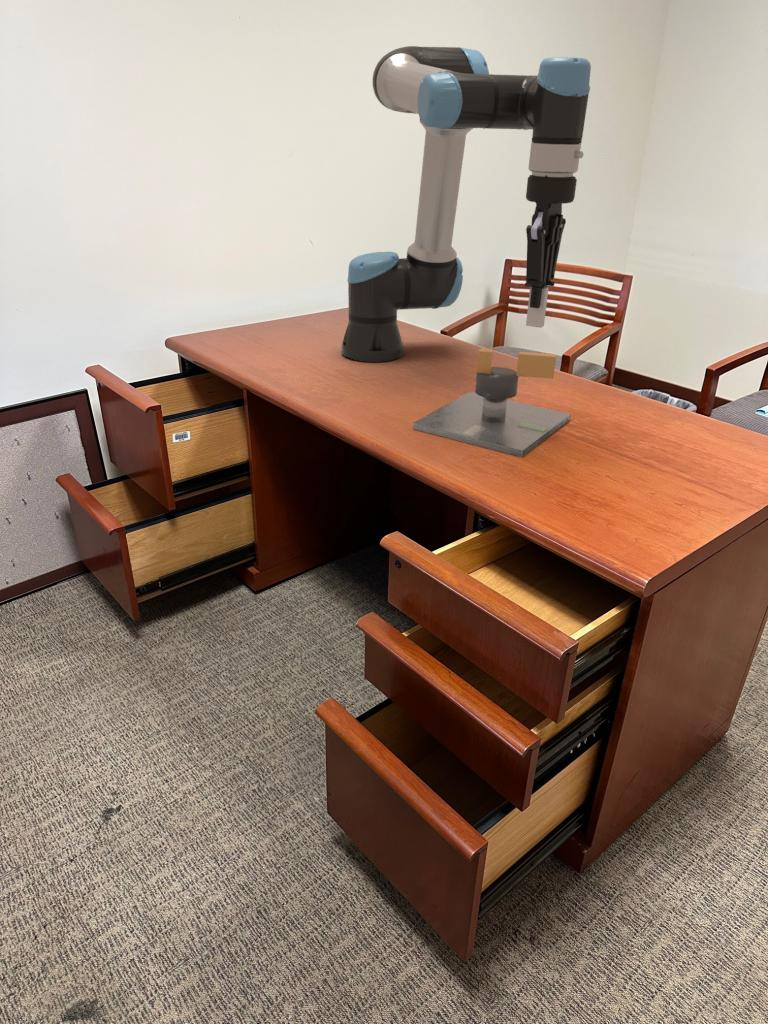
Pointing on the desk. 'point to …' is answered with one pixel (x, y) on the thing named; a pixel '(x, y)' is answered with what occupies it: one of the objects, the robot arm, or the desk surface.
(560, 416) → the post plate
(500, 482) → the desk surface
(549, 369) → the cap
